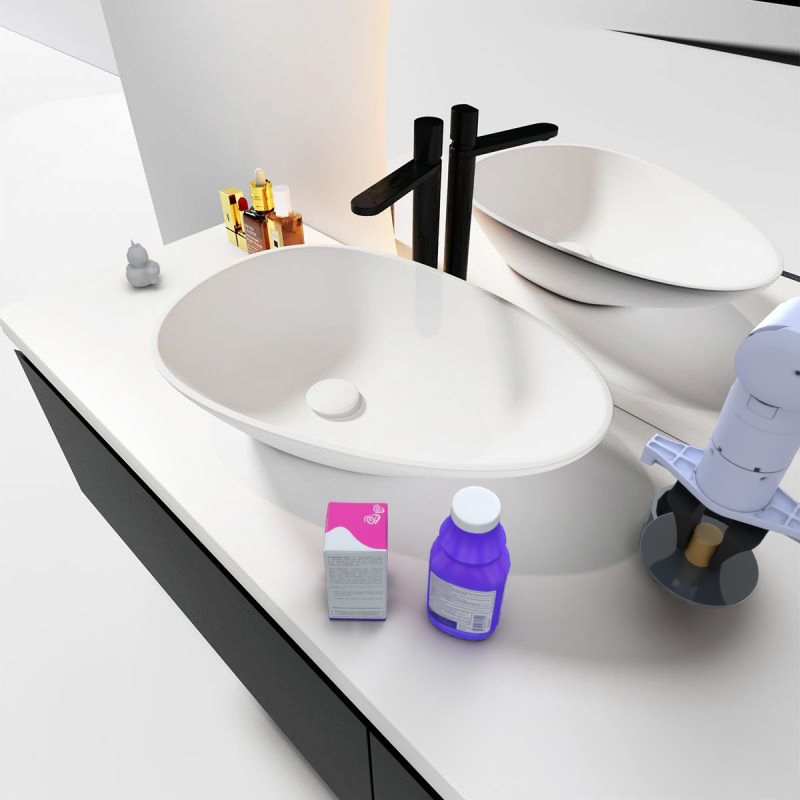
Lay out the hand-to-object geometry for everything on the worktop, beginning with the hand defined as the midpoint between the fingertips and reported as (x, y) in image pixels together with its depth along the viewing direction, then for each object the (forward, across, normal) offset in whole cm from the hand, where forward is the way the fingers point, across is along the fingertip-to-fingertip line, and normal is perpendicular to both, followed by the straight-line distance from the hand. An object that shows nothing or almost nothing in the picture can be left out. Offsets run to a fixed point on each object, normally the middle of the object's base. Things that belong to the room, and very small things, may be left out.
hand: (700, 552), depth 61 cm
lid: (+1, 0, 0) cm, 1 cm away
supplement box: (+11, +24, +20) cm, 33 cm away
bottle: (+11, +15, +14) cm, 23 cm away
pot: (+10, +2, -8) cm, 13 cm away
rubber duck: (+11, +91, +4) cm, 91 cm away
